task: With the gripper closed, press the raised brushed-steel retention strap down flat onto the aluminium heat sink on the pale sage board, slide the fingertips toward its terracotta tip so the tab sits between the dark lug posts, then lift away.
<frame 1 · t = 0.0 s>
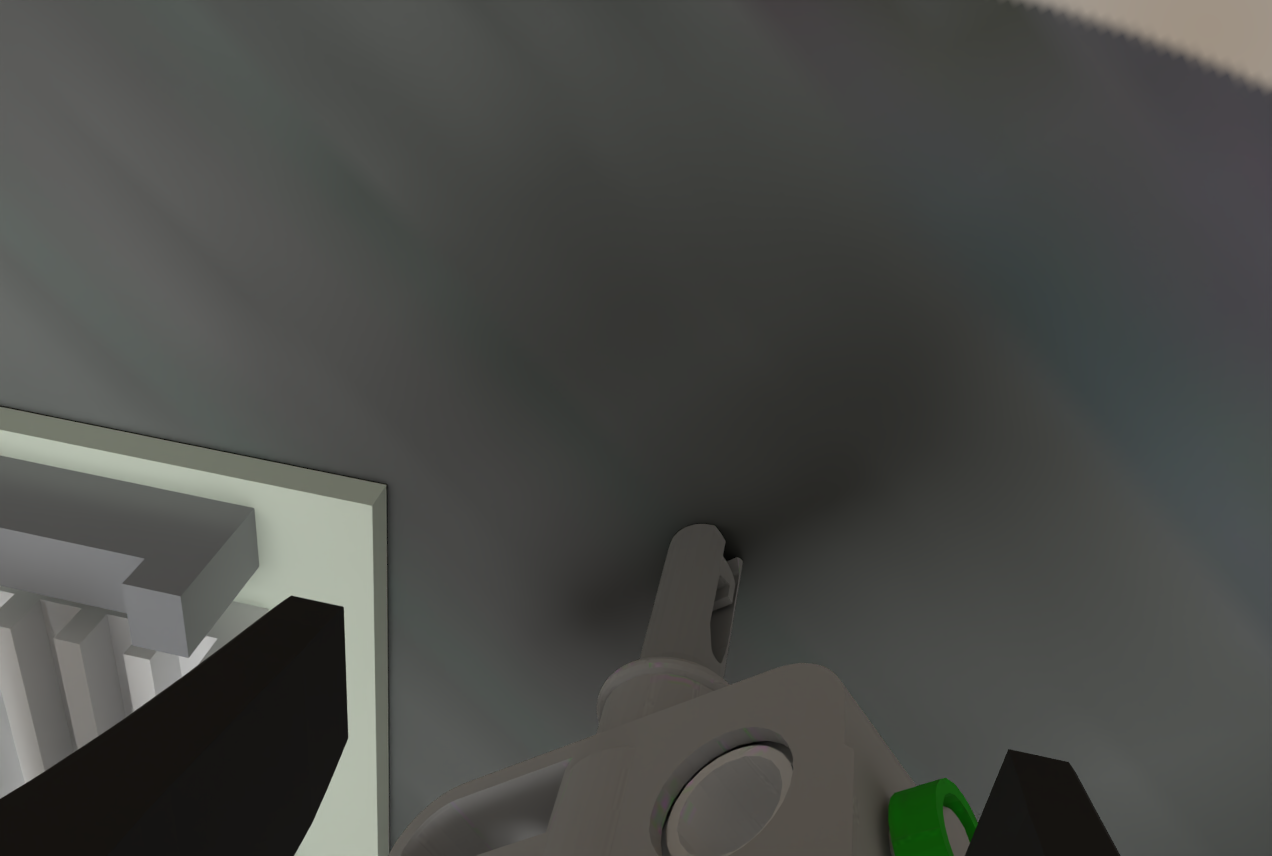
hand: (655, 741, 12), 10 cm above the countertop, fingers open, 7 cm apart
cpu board: (169, 721, 29), on the countertop
mechanical component: (707, 548, 23), on the countertop
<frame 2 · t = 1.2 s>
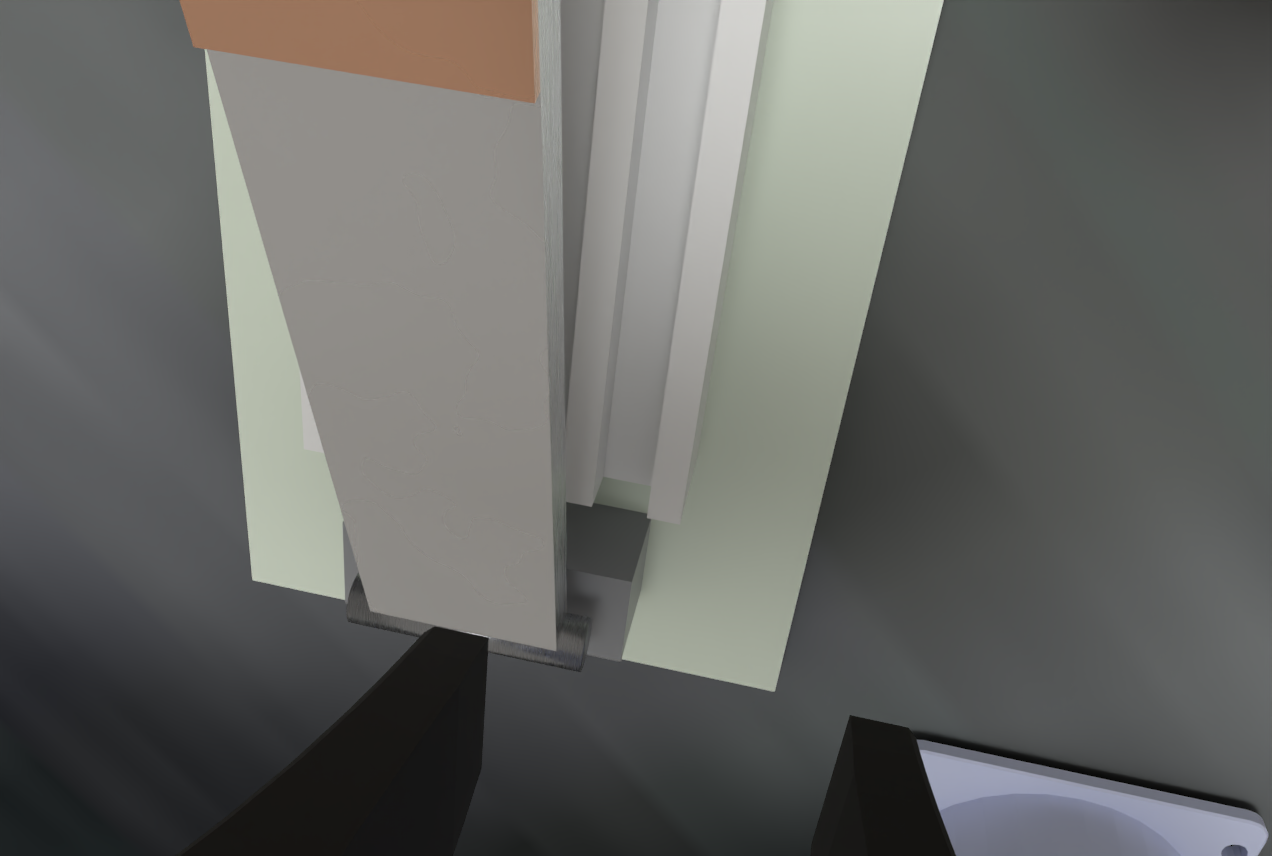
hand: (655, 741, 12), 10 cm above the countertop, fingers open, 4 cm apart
retention strap: (433, 384, 15), point 6 cm above the countertop, hinge at 20.0°
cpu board: (543, 244, 21), on the countertop
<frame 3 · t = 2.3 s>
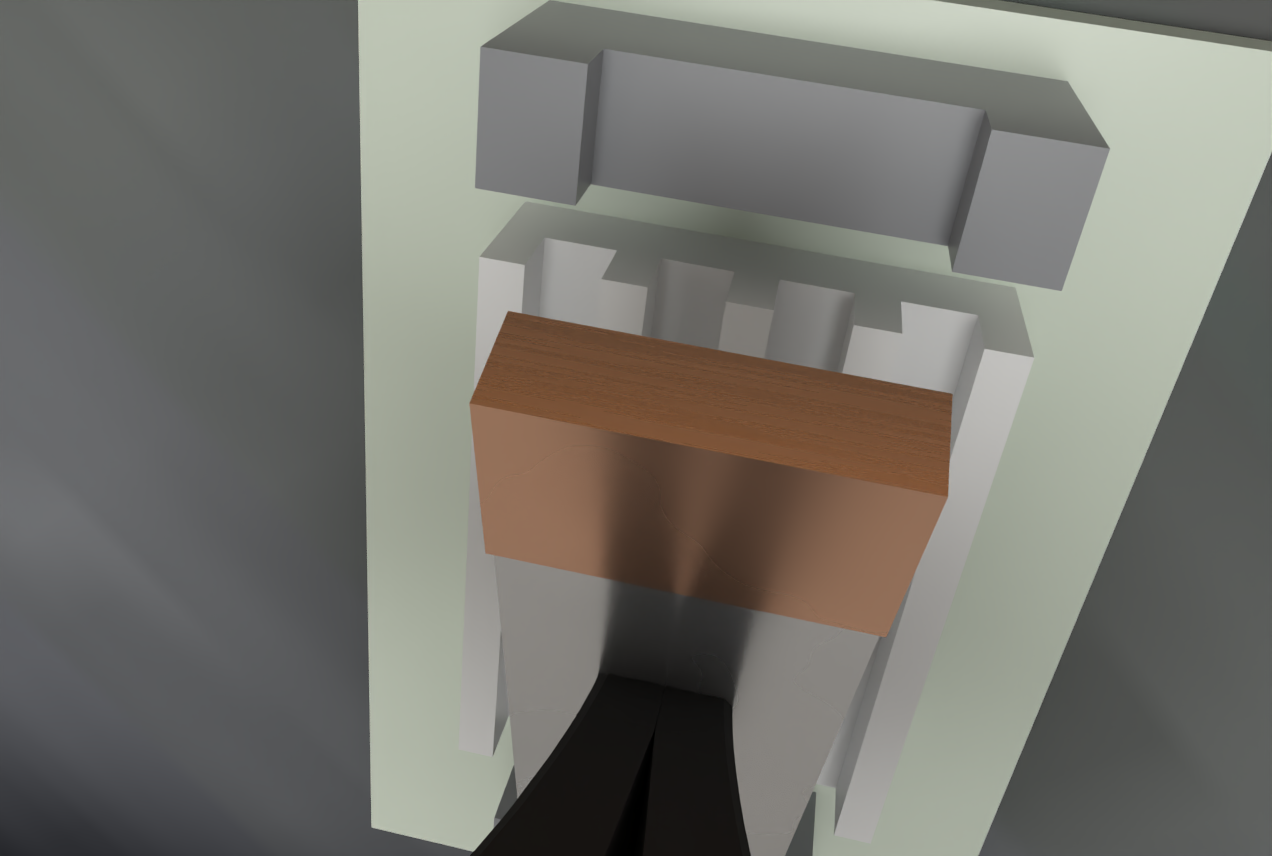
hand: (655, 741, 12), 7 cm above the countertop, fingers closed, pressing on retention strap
retention strap: (657, 777, 14), point 6 cm above the countertop, hinge at 19.2°, touching gripper
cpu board: (714, 524, 19), on the countertop
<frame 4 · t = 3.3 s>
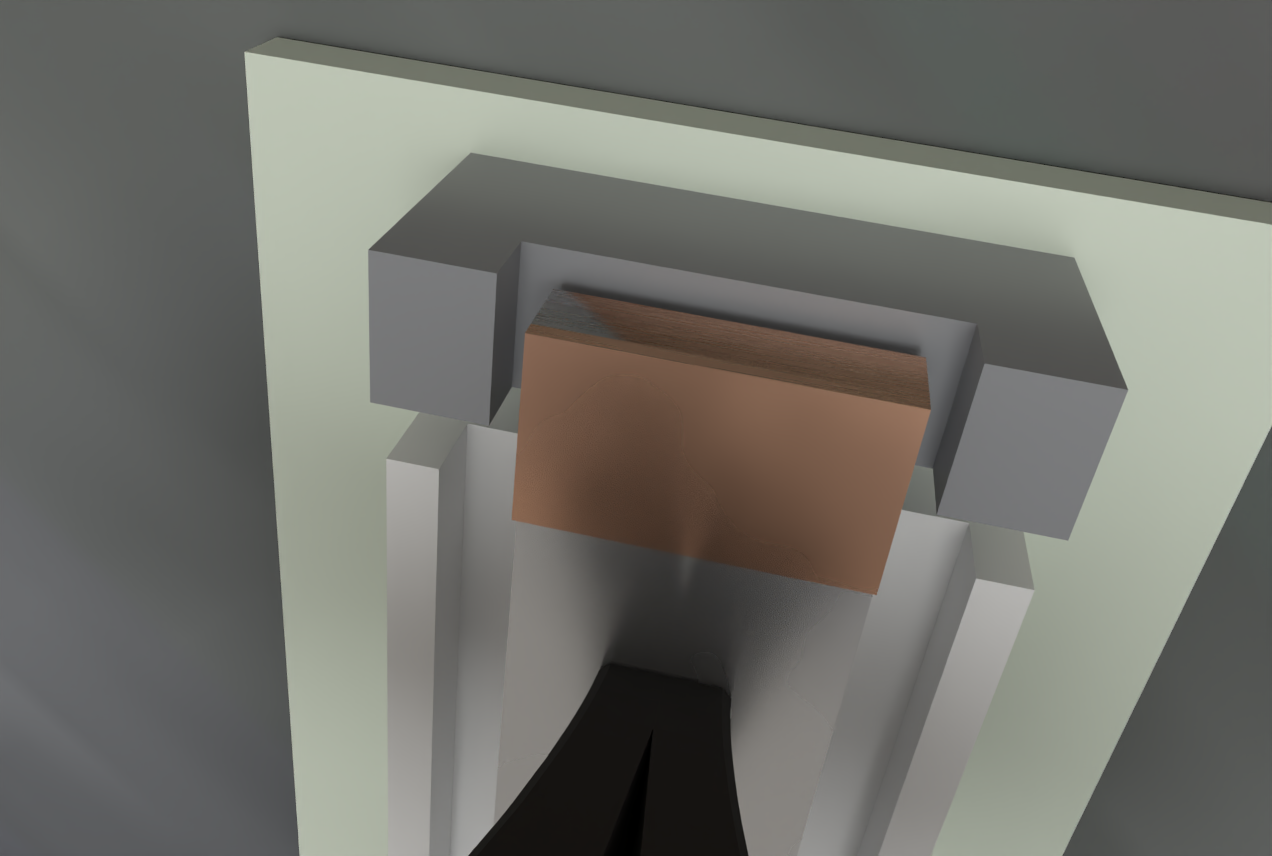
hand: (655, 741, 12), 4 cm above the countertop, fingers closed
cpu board: (675, 696, 17), on the countertop
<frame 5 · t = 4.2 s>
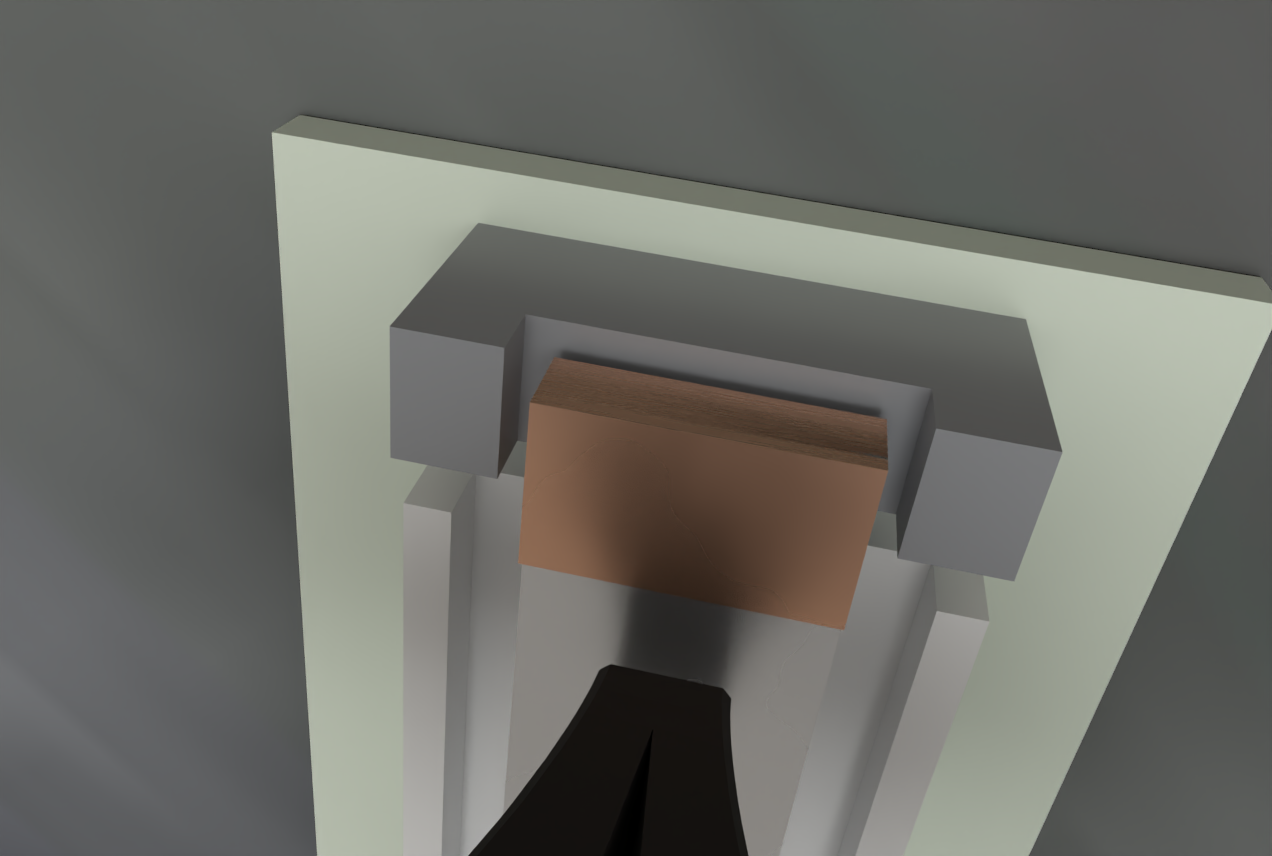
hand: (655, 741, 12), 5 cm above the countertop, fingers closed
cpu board: (669, 709, 19), on the countertop
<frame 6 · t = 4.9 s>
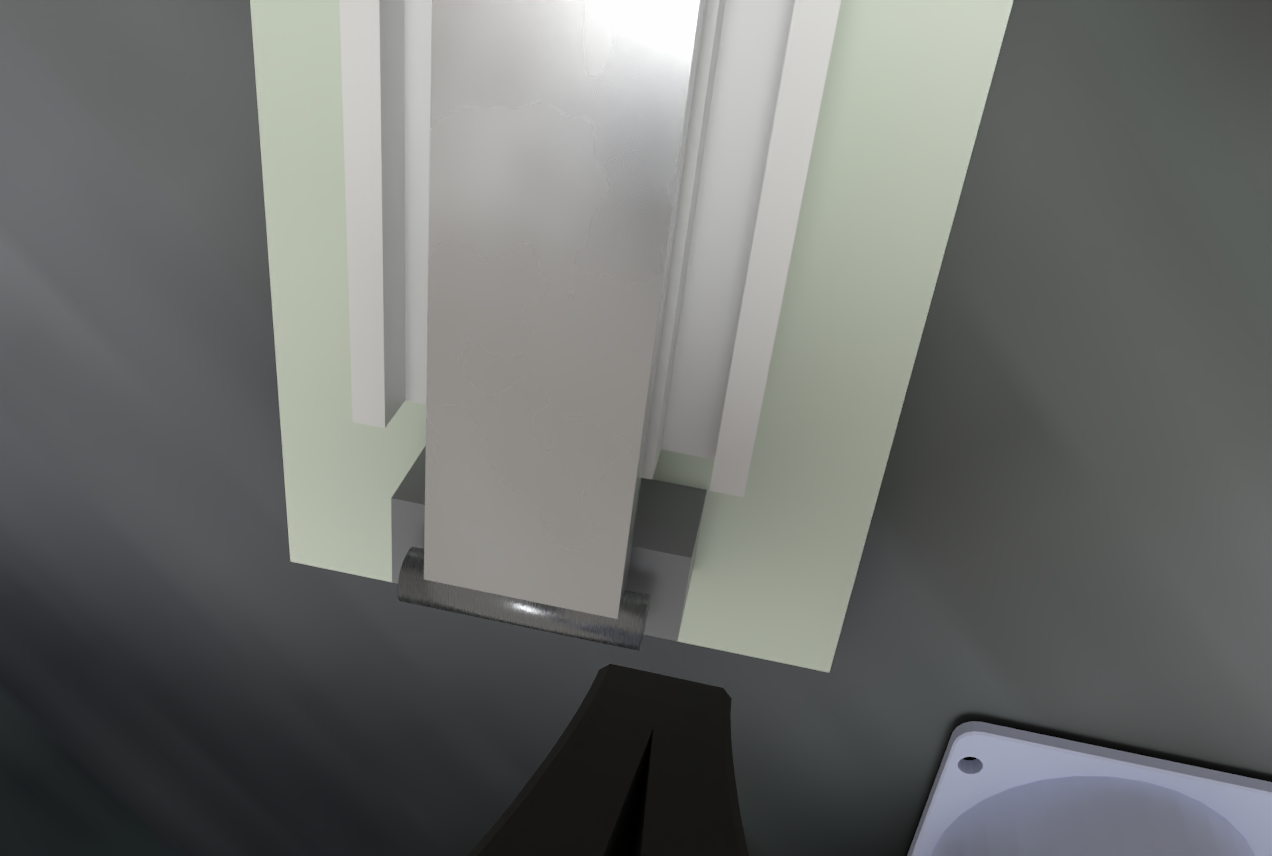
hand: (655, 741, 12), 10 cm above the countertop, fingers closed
retention strap: (550, 248, 16), point 4 cm above the countertop, hinge at -0.6°
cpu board: (598, 209, 20), on the countertop
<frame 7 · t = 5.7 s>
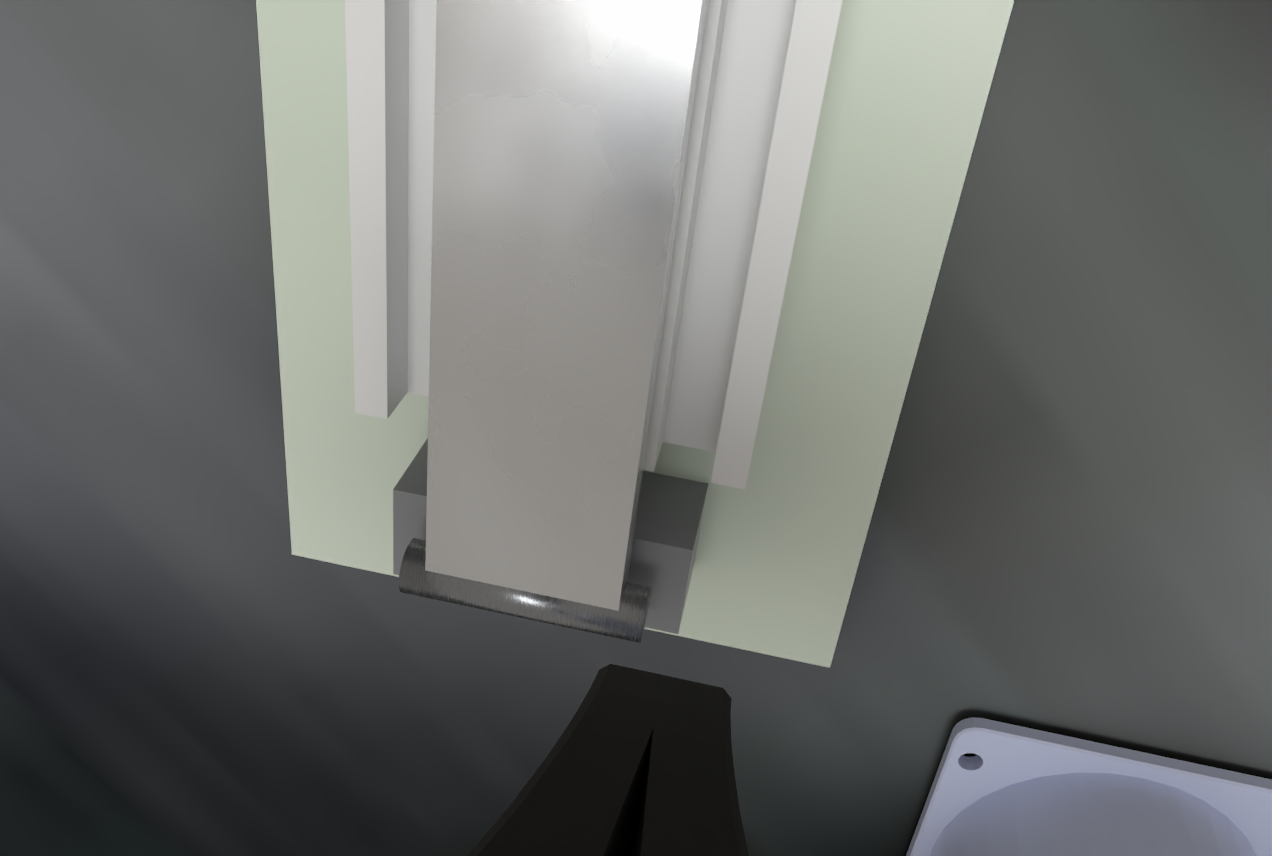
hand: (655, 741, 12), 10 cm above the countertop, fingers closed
retention strap: (553, 238, 17), point 4 cm above the countertop, hinge at -0.6°
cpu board: (601, 202, 20), on the countertop
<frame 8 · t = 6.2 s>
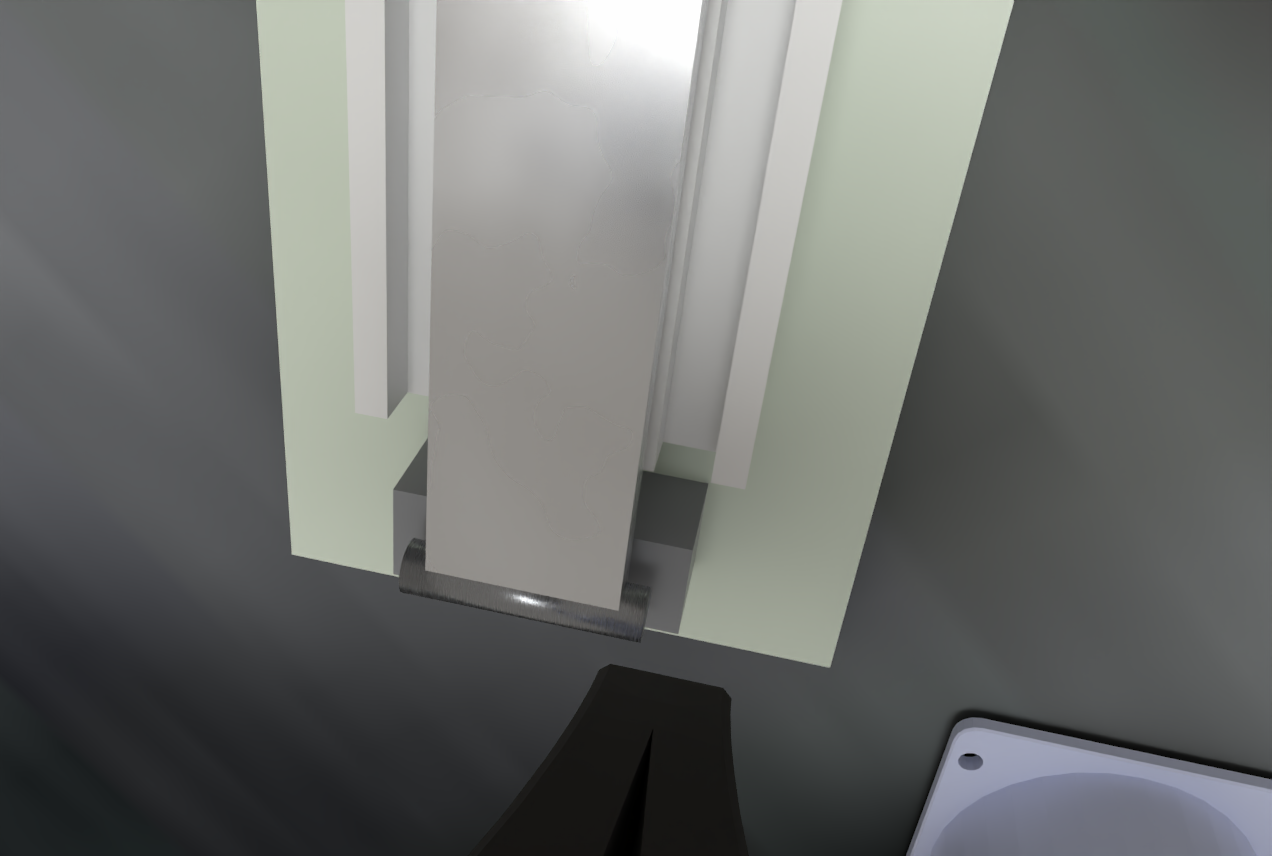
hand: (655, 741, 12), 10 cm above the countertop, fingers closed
retention strap: (553, 238, 17), point 4 cm above the countertop, hinge at -0.6°
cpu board: (601, 202, 20), on the countertop
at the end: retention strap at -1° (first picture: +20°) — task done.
